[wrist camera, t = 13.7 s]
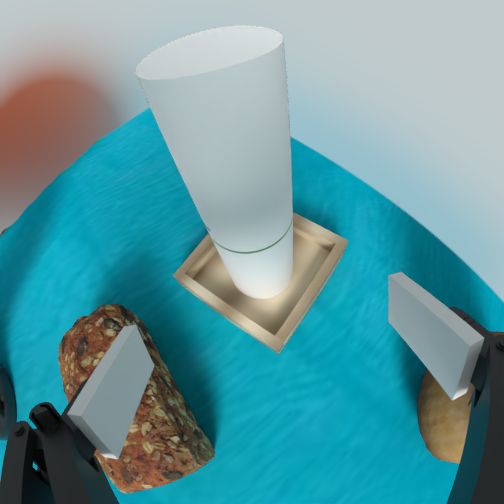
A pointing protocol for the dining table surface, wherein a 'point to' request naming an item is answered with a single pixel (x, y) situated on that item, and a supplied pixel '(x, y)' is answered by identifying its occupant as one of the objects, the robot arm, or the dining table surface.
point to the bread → (149, 409)
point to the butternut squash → (443, 418)
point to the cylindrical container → (231, 144)
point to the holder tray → (274, 308)
